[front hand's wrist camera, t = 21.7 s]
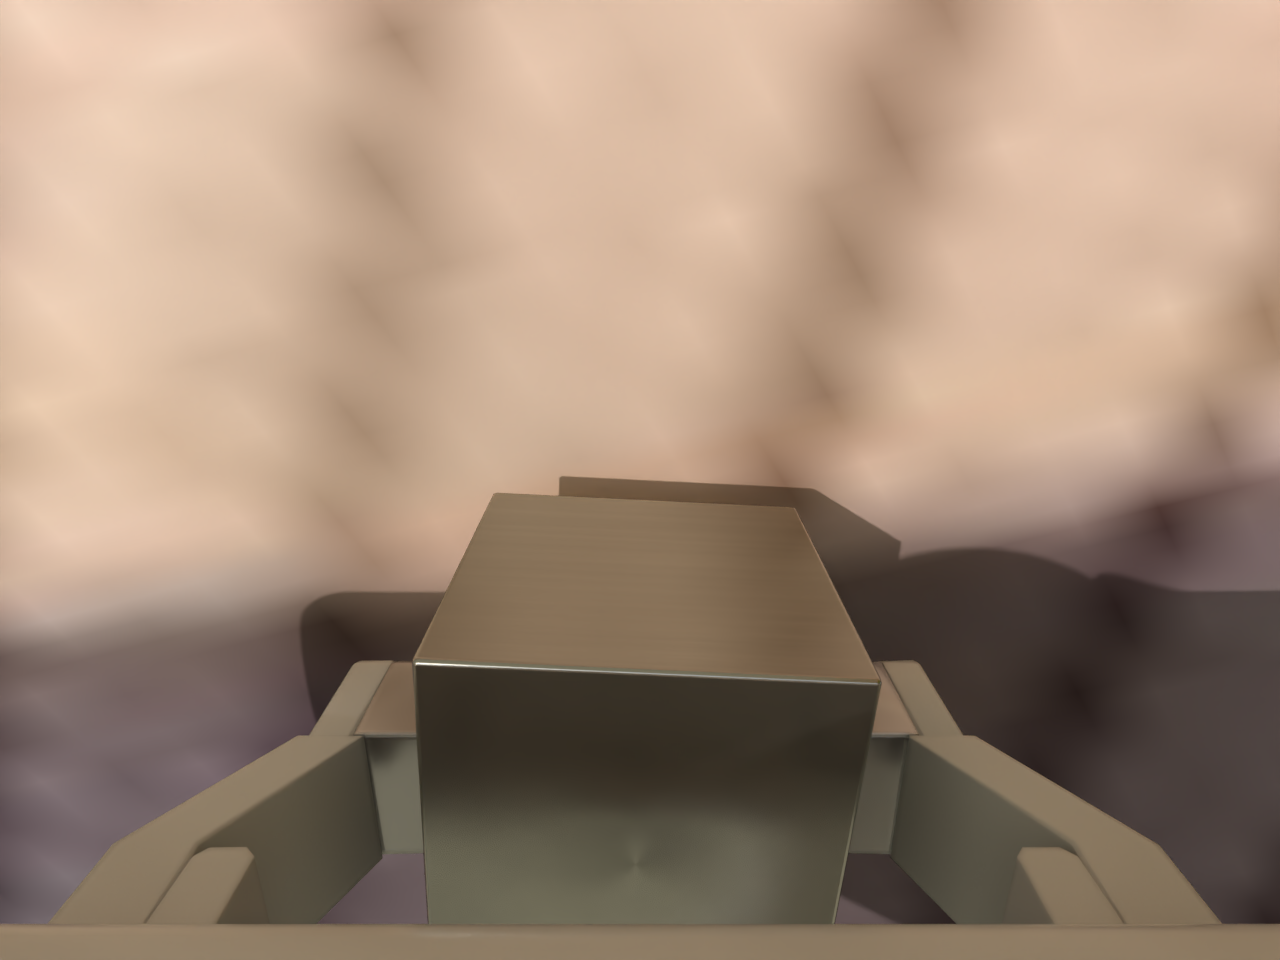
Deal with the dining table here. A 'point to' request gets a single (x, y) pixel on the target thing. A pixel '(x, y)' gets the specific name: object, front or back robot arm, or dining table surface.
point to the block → (639, 719)
